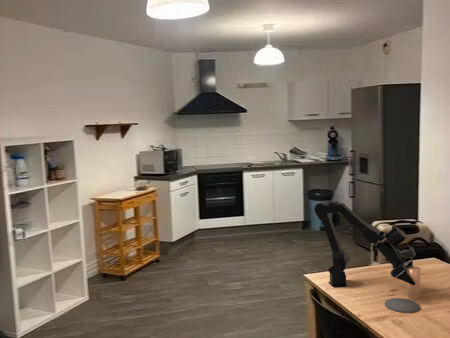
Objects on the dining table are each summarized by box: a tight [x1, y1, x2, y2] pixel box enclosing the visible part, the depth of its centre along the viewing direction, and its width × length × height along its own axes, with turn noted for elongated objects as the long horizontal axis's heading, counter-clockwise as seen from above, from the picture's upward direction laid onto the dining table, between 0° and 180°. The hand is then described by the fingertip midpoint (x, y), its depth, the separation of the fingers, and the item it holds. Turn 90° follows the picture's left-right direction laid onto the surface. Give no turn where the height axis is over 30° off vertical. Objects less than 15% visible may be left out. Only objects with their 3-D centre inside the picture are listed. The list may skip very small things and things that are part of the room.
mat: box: [384, 297, 421, 314], centre depth 181 cm, size 13×13×1 cm
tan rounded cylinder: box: [406, 265, 422, 300], centre depth 189 cm, size 5×5×12 cm
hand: (416, 281), depth 189 cm, fingers open, 9 cm apart
